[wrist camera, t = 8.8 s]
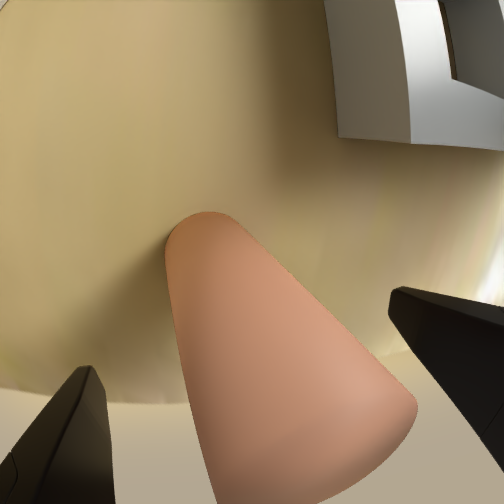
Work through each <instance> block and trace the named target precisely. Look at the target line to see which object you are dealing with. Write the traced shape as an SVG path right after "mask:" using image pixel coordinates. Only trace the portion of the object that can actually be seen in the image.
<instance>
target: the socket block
mask: <svg viewBox="0 0 504 504" xmlns="http://www.w3.org/2000/svg"><path fill="white" fill-rule="evenodd" d="M439 1H441V2H442V3H444V6H445V10H446V14H447V19H448V23H449V28H450V33H451V39H452V44H453V51H454V57H455V64H456V72H457V81H456V80H453V79H451V71H450V63H449V56H448V49H447V43H446V38H445V32H444V27H443V22H442V18H441V13H440V9H439V5H438V1H437V0H324V6H325V12H326V19H327V26H328V33H329V40H330V48H331V57H332V65H333V75H334V86H335V97H336V110H337V125H338V138H355V139H369V140H381V141H391V142H401V143H410V144H431V145H447V146H460V147H472V148H482V149H491V150H499V151H504V0H439Z"/></svg>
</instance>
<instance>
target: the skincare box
mask: <svg viewBox="0 0 504 504" xmlns="http://www.w3.org/2000/svg"><path fill="white" fill-rule="evenodd" d="M6 2H7V0H0V9H1V8H2V7H3V5H4V4H5V3H6Z"/></svg>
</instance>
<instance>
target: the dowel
mask: <svg viewBox="0 0 504 504" xmlns="http://www.w3.org/2000/svg"><path fill="white" fill-rule="evenodd" d="M164 258H165V266H166V274H167V281H168V288H169V295H170V302H171V308H172V315H173V321H174V327H175V332H176V338H177V344H178V349H179V354H180V360H181V365H182V370H183V375H184V379H185V384H186V389H187V393H188V398H189V402H190V407H191V411H192V415H193V419H194V423H195V427H196V431H197V435H198V439H199V443H200V447H201V450H202V454H203V458H204V461H205V465H206V468H207V472H208V475H209V478H210V482H211V485H212V488H213V492H214V494H215V498H216V501H217V504H317V503H319V502H322V501H324V500H326V499H328V498H330V497H333V496H335V495H336V494H338V493H340V492H342V491H344V490H346V489H347V488H349V487H351V486H352V485H354V484H355V483H357V482H358V481H360V480H361V479H363V478H364V477H366V476H367V475H368V474H370V473H371V472H372V471H374V470H375V469H376V468H377V467H378V466H379V465H381V464H382V463H383V462H384V461H385V460H386V459H387V458H388V457H389V456H390V455H391V454H392V453H393V452H394V451H395V450H396V448H398V446H399V445H400V444H401V442H402V441H403V440H404V439H405V437H406V436H407V434H408V433H409V431H410V429H411V427H412V426H413V423H414V421H415V418H416V415H417V410H418V405H417V401H416V399H415V397H414V396H413V395H412V394H411V393H410V392H409V391H408V390H407V389H406V388H405V387H404V386H403V385H402V384H401V383H400V382H399V381H398V380H397V379H396V378H395V377H394V376H393V375H392V374H391V373H390V372H389V371H388V370H387V369H386V368H385V367H384V366H383V365H382V364H381V363H380V362H379V361H378V360H377V359H376V358H375V357H374V356H373V355H372V354H371V353H370V352H369V351H368V350H367V349H366V348H365V347H364V346H363V345H362V344H361V343H360V342H359V341H358V340H357V339H356V338H355V337H354V336H353V335H352V334H351V333H350V332H349V331H348V330H347V329H346V328H345V327H344V326H343V325H342V324H341V323H340V322H339V321H338V320H337V319H336V318H335V317H334V316H333V315H332V314H331V313H330V312H329V311H328V310H327V309H326V308H325V307H324V306H323V305H322V304H321V303H320V302H319V301H318V300H317V299H316V298H315V297H314V296H313V295H312V294H311V293H310V292H309V291H308V290H307V289H306V288H305V287H304V286H302V285H301V284H300V283H299V282H298V281H297V280H296V279H295V278H294V277H293V276H292V275H291V274H290V273H289V272H288V271H287V270H286V269H285V268H284V267H283V266H282V265H281V264H280V263H279V262H278V261H277V260H276V259H275V258H274V257H273V256H272V255H271V254H270V253H269V252H268V251H267V250H266V249H265V248H264V247H262V246H261V245H260V244H259V243H258V242H257V241H256V240H255V239H254V238H253V237H252V236H251V235H250V234H249V233H248V232H247V231H246V230H245V229H244V228H243V227H242V226H241V225H240V224H239V223H238V222H236V221H235V220H234V219H232V218H231V217H229V216H227V215H225V214H221V213H217V212H202V213H198V214H195V215H192V216H190V217H188V218H186V219H184V220H183V221H182V222H180V223H179V224H178V225H177V226H176V227H175V228H174V230H173V231H172V232H171V234H170V236H169V238H168V240H167V243H166V246H165V252H164Z"/></svg>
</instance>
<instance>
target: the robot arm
mask: <svg viewBox="0 0 504 504" xmlns="http://www.w3.org/2000/svg"><path fill="white" fill-rule="evenodd" d="M388 315H389V318H390V320H391V321H392V322H393V324H394V325H395V327H396V328H397V330H398V331H399V333H400V334H401V336H402V337H403V338H404V340H405V341H406V343H407V344H408V346H409V347H410V349H411V350H412V352H413V353H414V354H415V355H416V357H417V358H418V359H419V360H420V362H421V363H422V364H423V365H424V366H425V368H426V369H427V370H428V371H429V373H430V374H431V375H432V376H433V378H434V379H435V380H436V381H437V383H438V384H439V385H440V386H441V388H442V389H443V390H444V391H445V393H446V394H447V395H448V397H449V398H450V399H451V400H452V402H453V403H454V404H455V406H456V407H457V408H458V409H459V411H460V412H461V413H462V415H463V416H464V417H465V419H466V420H467V421H468V423H469V424H470V425H471V427H472V428H473V430H474V431H475V432H476V434H477V435H478V436H479V437H480V440H481V441H482V442H483V444H484V445H485V446H486V448H487V449H488V451H489V452H490V454H491V455H492V456H493V458H494V459H495V461H496V462H497V464H498V465H499V467H500V468H501V470H502V471H503V472H504V307H501V306H498V307H497V306H496V305H491V304H486V303H481V302H477V301H472V300H467V299H462V298H457V297H453V296H448V295H443V294H438V293H434V292H429V291H424V290H419V289H414V288H410V287H405V286H401V287H398V288H396V289H393V290H392V292H391V295H390V302H389V308H388ZM11 452H12V453H11ZM11 452H9V453H8V455H7V456H6V458H5V459H4V460H3V462H2V463H1V464H0V504H116V503H115V494H114V480H113V466H112V445H111V435H110V428H109V420H108V412H107V402H106V393H105V389H104V387H103V385H102V383H101V381H100V379H99V377H98V375H97V373H96V371H95V369H94V368H93V367H92V366H91V365H87V366H80V367H78V368H77V369H76V370H75V371H74V372H73V373H72V374H71V376H70V377H69V378H68V379H67V380H66V381H65V383H64V384H63V385H62V386H61V387H60V389H59V390H58V391H57V392H56V394H55V395H54V396H53V397H52V398H51V400H50V401H49V402H48V403H47V405H46V406H45V407H44V408H43V410H42V411H41V412H40V413H39V415H38V416H37V417H36V419H35V420H34V421H33V422H32V423H31V425H30V426H29V427H28V429H27V430H26V431H25V433H24V434H23V435H22V436H21V438H20V439H19V440H18V442H17V443H16V444H15V446H14V447H13V448H12V450H11Z"/></svg>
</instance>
